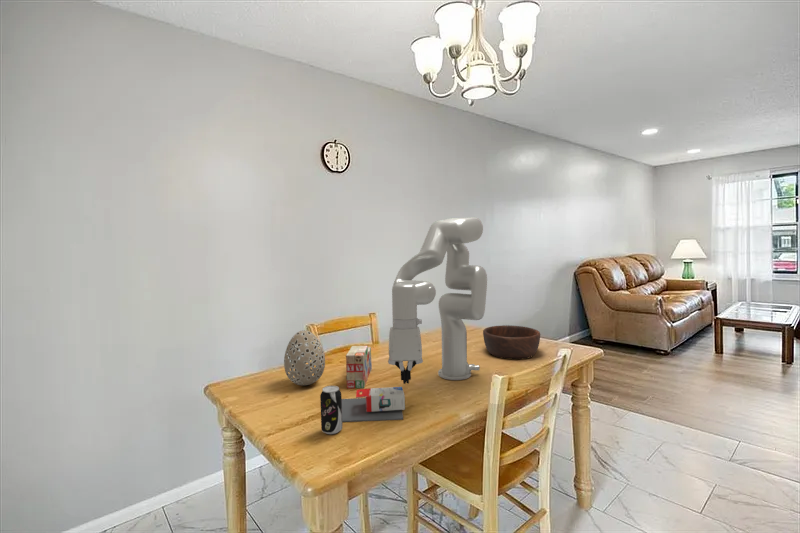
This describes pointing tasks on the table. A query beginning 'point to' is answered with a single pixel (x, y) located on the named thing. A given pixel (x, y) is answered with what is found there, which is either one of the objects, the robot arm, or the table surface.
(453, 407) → the table surface
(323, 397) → the beverage can
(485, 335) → the wooden bowl
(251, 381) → the table surface
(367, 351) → the stack of blocks
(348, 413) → the mat
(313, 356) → the ornament
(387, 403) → the ink box
